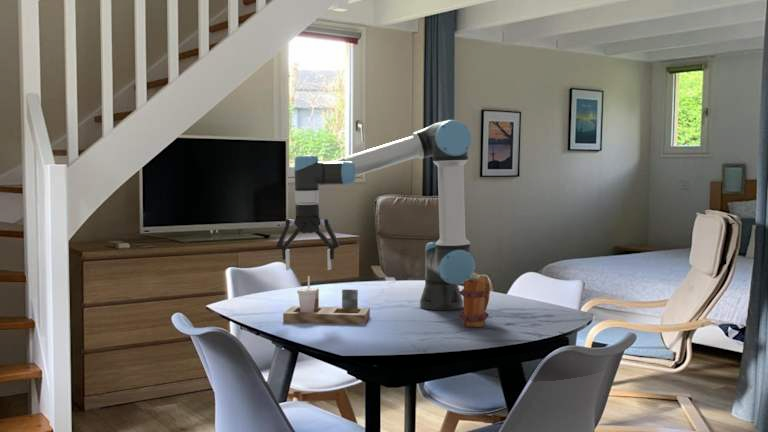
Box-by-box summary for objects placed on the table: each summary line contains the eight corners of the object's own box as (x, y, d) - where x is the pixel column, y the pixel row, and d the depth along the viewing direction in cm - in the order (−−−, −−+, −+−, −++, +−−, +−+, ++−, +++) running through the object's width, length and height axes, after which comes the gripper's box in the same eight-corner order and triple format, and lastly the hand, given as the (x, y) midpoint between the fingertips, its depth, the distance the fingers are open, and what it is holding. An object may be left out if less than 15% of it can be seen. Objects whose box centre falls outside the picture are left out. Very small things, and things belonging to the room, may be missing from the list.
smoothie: (313, 321, 254) (313, 278, 253) (294, 320, 255) (294, 277, 254) (319, 317, 260) (319, 275, 259) (300, 316, 261) (300, 274, 260)
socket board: (369, 316, 262) (369, 289, 261) (364, 324, 249) (364, 296, 248) (292, 314, 264) (292, 288, 264) (283, 322, 252) (283, 294, 251)
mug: (479, 330, 241) (479, 281, 240) (454, 327, 245) (455, 279, 244) (498, 322, 253) (499, 275, 252) (475, 319, 258) (475, 273, 257)
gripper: (347, 202, 257) (348, 267, 259) (271, 203, 260) (273, 268, 261) (343, 204, 250) (345, 271, 251) (266, 204, 252) (267, 271, 254)
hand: (308, 269), depth 256 cm, fingers open, 13 cm apart
